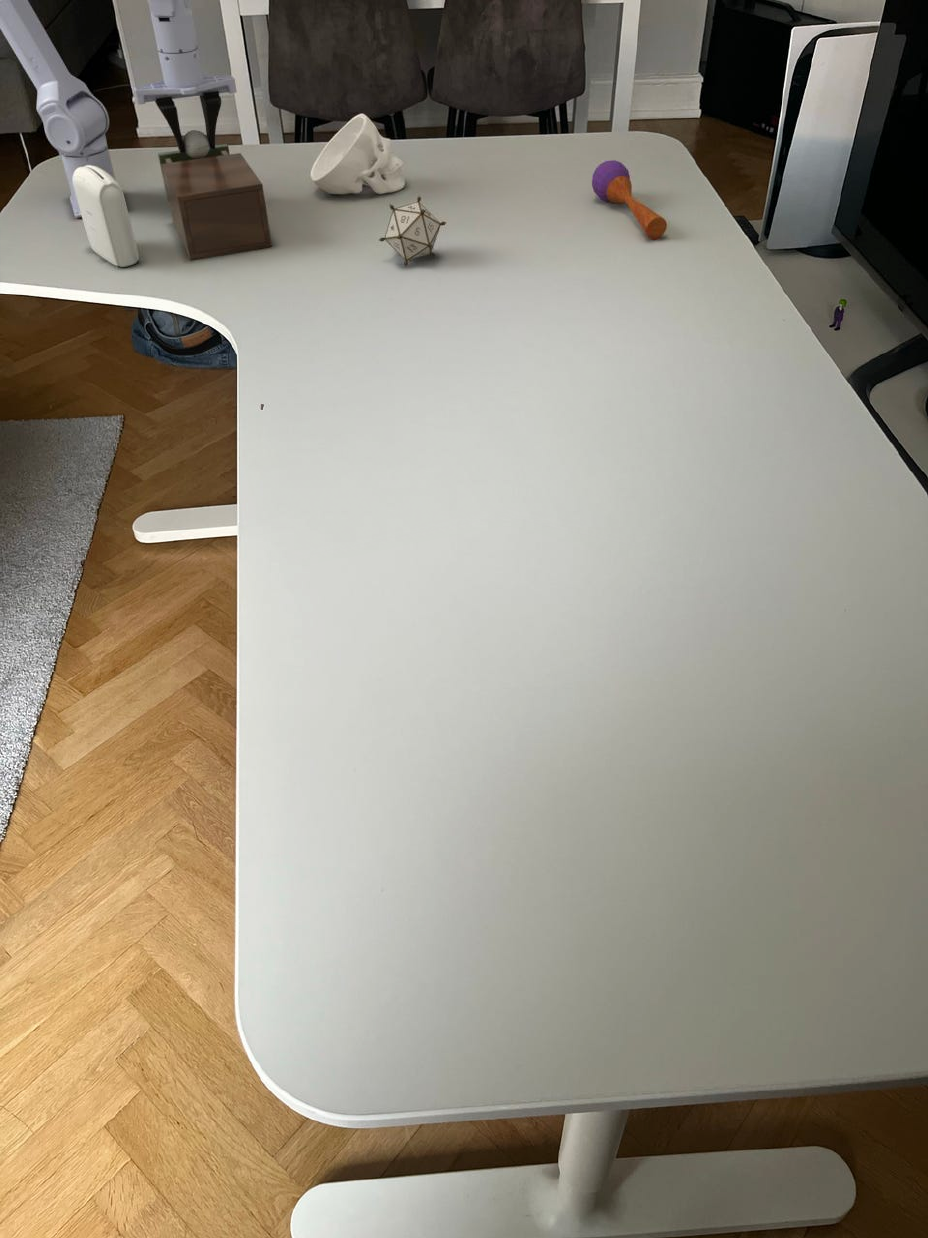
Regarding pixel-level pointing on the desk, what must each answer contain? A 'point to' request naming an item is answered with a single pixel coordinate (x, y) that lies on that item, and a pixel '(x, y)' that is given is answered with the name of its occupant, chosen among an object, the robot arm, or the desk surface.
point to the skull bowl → (358, 161)
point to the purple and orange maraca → (625, 196)
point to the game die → (412, 231)
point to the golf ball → (196, 144)
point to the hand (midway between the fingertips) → (196, 148)
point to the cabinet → (217, 205)
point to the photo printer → (105, 215)
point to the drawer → (177, 156)
